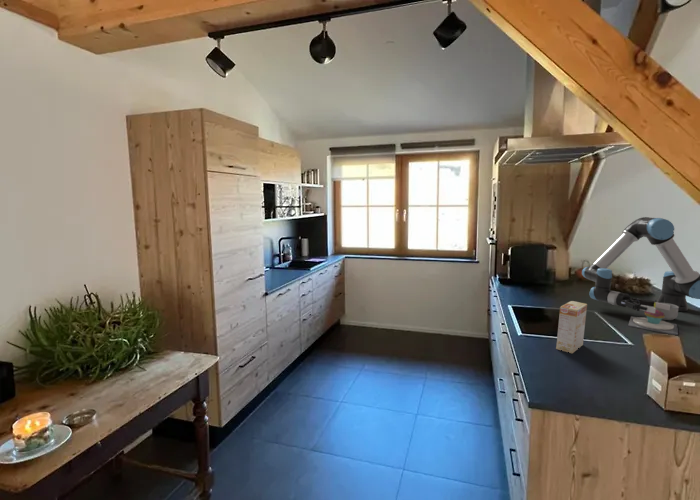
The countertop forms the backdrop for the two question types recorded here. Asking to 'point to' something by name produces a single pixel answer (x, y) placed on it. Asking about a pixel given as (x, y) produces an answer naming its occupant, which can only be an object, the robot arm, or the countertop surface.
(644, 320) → the dish
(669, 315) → the teacup
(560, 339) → the coffeecake box
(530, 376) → the countertop surface
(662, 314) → the cupcake
